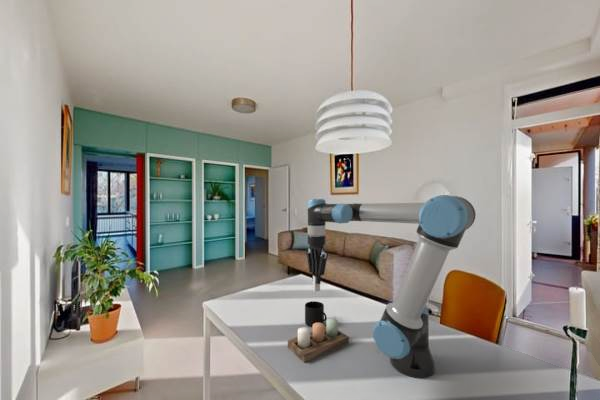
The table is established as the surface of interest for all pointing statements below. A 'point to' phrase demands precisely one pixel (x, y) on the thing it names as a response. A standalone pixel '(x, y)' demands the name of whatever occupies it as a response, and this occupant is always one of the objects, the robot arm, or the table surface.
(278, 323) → the table surface
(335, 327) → the pale green egg
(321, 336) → the peach egg
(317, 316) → the mug
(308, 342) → the white egg
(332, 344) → the wooden tray
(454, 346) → the table surface
